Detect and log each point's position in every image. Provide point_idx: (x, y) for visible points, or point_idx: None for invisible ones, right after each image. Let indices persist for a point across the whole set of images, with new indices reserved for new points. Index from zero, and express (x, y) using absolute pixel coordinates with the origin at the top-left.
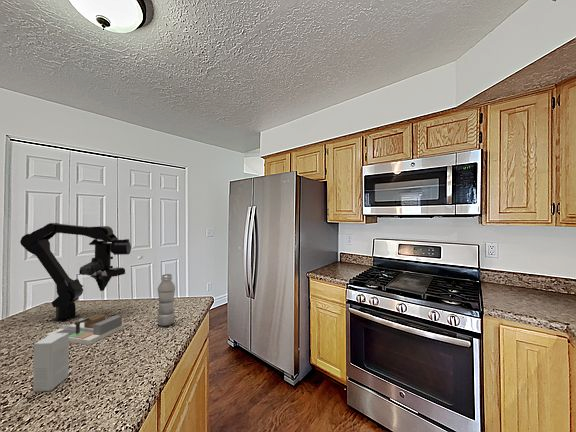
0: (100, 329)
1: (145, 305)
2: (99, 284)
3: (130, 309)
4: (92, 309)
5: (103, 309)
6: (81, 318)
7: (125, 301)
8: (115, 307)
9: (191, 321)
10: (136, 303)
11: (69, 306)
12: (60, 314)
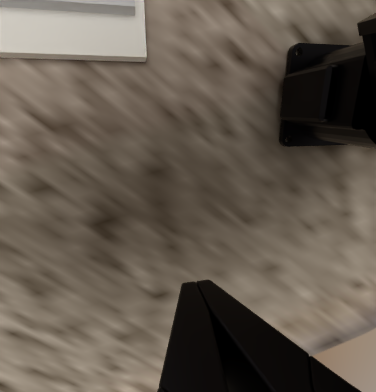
0: None
1: (77, 380)
2: (245, 353)
3: (98, 314)
4: (295, 243)
5: (242, 262)
6: (128, 4)
7: None
8: None
9: None
10: (154, 376)
11: (350, 73)
12: (350, 47)
